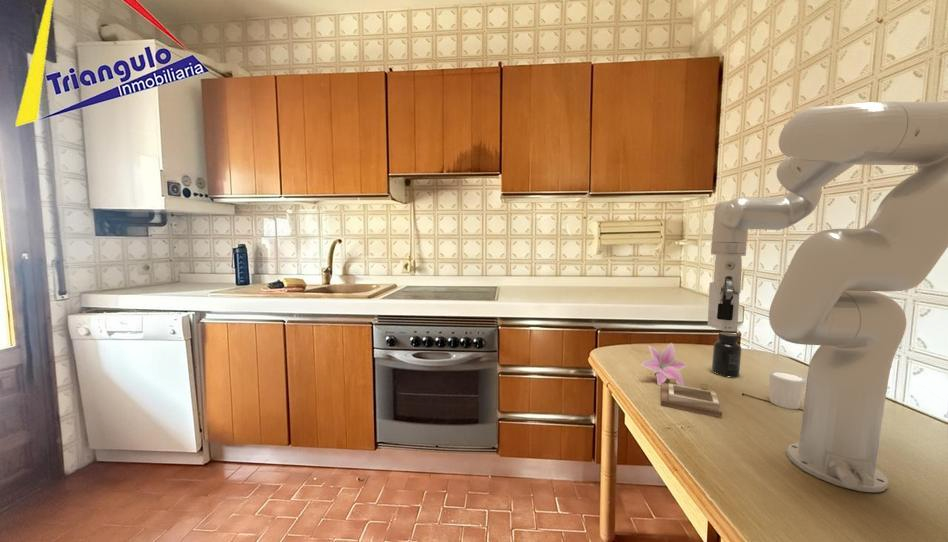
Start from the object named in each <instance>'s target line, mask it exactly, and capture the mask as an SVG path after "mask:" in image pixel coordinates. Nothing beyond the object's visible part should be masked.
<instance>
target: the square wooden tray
mask: <svg viewBox="0 0 948 542" xmlns="http://www.w3.org/2000/svg"><path fill="white" fill-rule="evenodd" d="M660 388H661V389H660V393H661V394H660V400H661V401H660V405H661V406H662V407H666V408H672V409H675V410H676V409H678V410H681V411H686V412H691V413H695V414H699V415H700V414H701V415H704V416H709V417H715V418H719V419H722V417H723V412H722V409H721V405H720V403H719V402H720V401H719V400H718V397H717V394H716V391H715V390H714V391H713V390H709V389H708V388H709V385H708V384H705V383H701V385H700V388H697V387H694V386H693V387H691V386H686V385H685V386H682V385H678V384H677V383H676V379H673V378H670V379H669V383H667V382H663V383H662V384H661V385H660Z"/></svg>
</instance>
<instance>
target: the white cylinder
mask: <svg viewBox="0 0 948 542" xmlns="http://www.w3.org/2000/svg"><path fill="white" fill-rule="evenodd" d="M806 384H807V379H806V378H804V377H803V376H800V375H796V374H793V373H789V372H784V371H769V402H770V403H772V404H774V405H775V406H778V407H781V408H784V409H790V410H798V409H799V408H800V407H801V402H802V399H803V395H804V390H805V388H806V387H805V386H806Z"/></svg>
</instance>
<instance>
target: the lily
mask: <svg viewBox="0 0 948 542" xmlns="http://www.w3.org/2000/svg"><path fill="white" fill-rule="evenodd" d="M648 350H649V352H650V355H651V358H648V359H647V360H644V361H643V362H641V364H640V365H641V366H642V367H643V368H646V369H647V370H651V371H652V372H655V373H654V376H656V381H657V382H656V383H657V386H661V384H662V383H665V382H666V381H667V379H669V380H670V378H673V379H676V385H682V386H686V385H685V381H684V378H683V375H682V374H681V372H680V370H682V369H685V368H686V367H687V364H686V363H685V362H683V361H680V360H678V359H676V356H677V355H676V349H675V346H674V344H673V342H671V343H669V344H667V345H666V346H665V348H664V349H662V351H661V352H660V350H658V349H656V348H655V347H653V346H651V345H648Z"/></svg>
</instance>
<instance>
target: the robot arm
mask: <svg viewBox="0 0 948 542" xmlns="http://www.w3.org/2000/svg"><path fill="white" fill-rule="evenodd" d="M778 147H779V150H780V152H781V153H782V155H783V156H785V157H786V158H785V159H783V160H782V161H781V162H780V163H779V164H778V167H777V168H776V178H777V180H778V182H779V184H780V185H781V186H782V187H783V188H784V189H785V190H787V191H788V192H789V193H787V194H786V195H783V197H771V196H770V197H768V196H767V197H764V196H763V197H761V196H760V197H759V196H754V197H753V196H751V197H750V196H742V197H741V196H740V197H735V198H732V199H730V200H726V201H720V202H717V203H716V205H715V207H714V210H713V211H714V213H713V224H712V236H711V246H710V247H711V249H710V255H712V256H713V255H715V260H714V269H713V270H714V272H713V282H714V283H715V289H716V291H717V292H718V293H720V304H719V303H718V311H717V319H720V320H730V321H731V320H732V317H733V306H734V305H733V288H734V292H736V293H737V294H736V295H738V294H739V295H740V294H741V289H742V288H741V286H742V271H743V270H742V269H743V268H742V266H743V265H742V264H743V263H742V257H746V255H747V246H748V238H749V237H748V235H749V230H764V231H766V230H768V231H769V230H770V231H773V230H775V231H778V230H783V229H784V230H785V229H787V228H790V227H791V226H794V225H796V224H797V223H799V222H800V221H803V219H806V218H807V217H808V216H810V214H812V213H813V212H814V211H815V209H816V208H817V207H818V205H819V202H820V200H821V198H822V197H821V196H822V194H823V193H822V192H823V191H822V190H823V188H824V186H826V185H827V184H829V183H830V182H832V181H833V180H835V179H836V178H837V177H838V176H840V175H842V174H843V173H844V172H846V171H848V170H849V169H850V168H851V167H853V166H855V165H856V166H857V165H860V166H864V165H868V166H869V165H870V166H871V165H872V166H915V167H917V170H916V172H914V173H913V174H911V175H909V176H908V177H907V178H905V179H904V180H902V181H901V182H900V183H898V184H897V185H895V186H894V187H893V189H891V190H890V191H889V193H887V194H886V195H885V197H884V198H882V200H881V202H880V203H879V205H878V207H877V209H876V211H875V213H873V214H874V215H872V218H870V220H869V221H868V223H867V224H866V225H865V226H864V227H861V228H831V229H825V230H822V231H819V232H818V231H817V232H816V233H814V234H812V235H811V236H809V237H808V238H806V240H804V241H803V242H802V243H801V244H800V245H799V246H798V248H797V249H796V251H795V253H794V255H793V257H792V258H791V260H790V262H789V265H788V267H787V269H786V271H785V273H784V275H783V277H782V280H781V281H780V284H779V286H778V288H777V289H776V292H775V294H774V297H773V298H772V301H771V304H770V308H769V312H768V319H769V320H768V321H769V325H770V328H771V329H772V331H773V333H774V334H775V335H776V336H777V337H778V338H780V339H781V340H783V341H785V342H788V343H791V344H797V345H806V346H818V348H817V349H816V350H815V352H814V353H813V355H812V357H811V359H810V362H809V366H808V370H807V371H808V372H807V378H806V384H805V386H806V387H805V393H804V403H803V411H802V418H801V428H800V433H799V434H800V436H799V441H798V442H794V443H790V444H788V446H787V448H786V455H787V457H788V458H789V460H790V461H791V462H792V463H793V464H794V465H795V466H797V467H798V468H800V469H801V470H802V471H804V472H806V473H808V474H809V475H811V476H814V477H816V478H818V479H820V480H823V481H824V482H827V483H830V484H833V485H835V486H839V487H842V488H844V489H849V490H853V491H856V492H864V493H881V492H884V491H886V490H887V489H886V488H888V485H889V479H888V476H886V475H885V474H884V472H883V471H882V470H880V469H879V468H878V467H876V466H877V460H878V454H879V453H878V452H879V446H880V438H881V433H882V424H883V418H884V411H885V410H884V409H885V406H886V404H885V403H886V397H887V391H888V385H889V379H890V374H891V369H892V365H893V362H894V359H895V356H896V353H897V351H898V348H899V346H900V344H901V342H902V340H903V338H904V336H905V332H906V328H907V316H906V313H905V311H904V309H903V307H902V306H901V305H900V304H899V303H898V302H897V301H895V300H894V299H893V298H891V297H889V296H887V295H885V294H882V293H880V292H885V293H886V292H902V291H907V290H911V289H914V288H916V287H918V286H919V285H920V284H922V282H923V281H924V280H925V279H926V278H927V277H928V276H929V274H931V271H932V270H933V269H934V267H935V266H936V264H937V263H938V262H939V260H940V259H941V257H942V256H943V255H944V254H945V252H946V251H947V249H948V101H869V102H868V101H867V102H866V101H865V102H856V103H846V104H836V105H825V106H811V107H808V108H805V109H804V110H801V111H799V112H798V113H796V114H795V115H794V116H792V117H791V118H790V119H789V120H788V121H787V122H786V123H785V125H784V126H783V128H782V130H781V132H780V133H779V137H778ZM724 285H725V286H726V292H722V290H723V289H724ZM723 295H724V296H723ZM885 489H886V490H885Z"/></svg>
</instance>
